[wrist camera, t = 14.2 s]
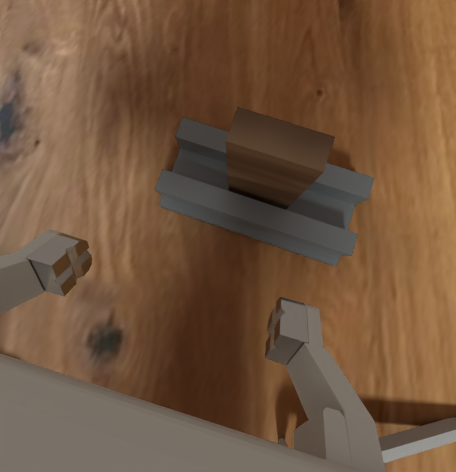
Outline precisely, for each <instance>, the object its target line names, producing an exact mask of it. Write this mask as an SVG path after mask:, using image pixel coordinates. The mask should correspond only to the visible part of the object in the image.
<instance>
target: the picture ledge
mask: <svg viewBox="0 0 456 472" xmlns="http://www.w3.org/2000/svg"><path fill="white" fill-rule="evenodd" d="M228 133H229V132H228V131H225V130H221V129H218V128H215V127H212V126H209V125H206V124H202V123H199V122H196V121H193V120H190V119H187V118H183V117H182V120H181V122H180V125H179V128H178V130H177V133H176V135H175V138H176V140H177V142H178V144H179V146H180V151H179V153H178V156H177V159H176V161H175V164H174V167H173V169H172V172H170V171H167V170H164V169H162V172H161V174H160V177H159V179H158V182H157V184H156V187H155V190H156V191H157V192H158V193H159V194H160V195H161V196H162V198H161V200H160V203H159V205H160V206H161V207H162V208H164V209H167V210H170V211H173V212H176V213H179V214H182V215H185V216H188V217H191V218H194V219H197V220H200V221H203V222H206V223H209V224H211V225H214V226H217V227H220V228H223V229H226V230H229V231H232V232H235V233H238V234H241V235H244V236H247V237H250V238H253V239H256V240H258V241H261V242H264V243H267V244H270V245H273V246H276V247H279V248H282V249H285V250H288V251H291V252H294V253H297V254H300V255H303V256H305V257H308V258H311V259H314V260H317V261H320V262H323V263H326V264H329V265H337V264H338V261H339V257H340V256H352V253H353V249H354V246H355V242H356V239H357V236H358V234H357V233H354V232H351V231H348V227H349V224H350V220H351V217H352V214H353V210H354V207H355V205H356V204H358V203H360V202H362V201H364V200H367V199H368V198H369V194H370V191H371V188H372V184H373V181H374V178H373V177H370V176H367V175H364V174H361V173H358V172H354V171H351V170H348V169H345V168H342V167H339V166H335V165H332V164H329V163H327V164H326V167H325V170H324V173H323V174H321V175H320V176H319V177H318V178H317V179H316V180H315V181H314V182H313V183H312V184H311V185H310V186H309V187H308V188H307V189H306V190H305V191H304V192H303V193H302V194H301V195H300V196H299V197H298V198H297V199H296V200H295V201H294V202H293V203H292V204H291V205H290V206H289V207H288V208H287V209H286V210H285V209H282V208H279V207H276V206H273V205H270V204H267V203H263V202H260V201H257V200H254V199H251V198H248V197H245V196H242V195H239V194H236V193H233V192H230V191H229V188H228V173H227V157H226V138H227V135H228Z"/></svg>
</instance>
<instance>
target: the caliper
mask: <svg viewBox="0 0 456 472" xmlns="http://www.w3.org/2000/svg"><path fill="white" fill-rule="evenodd" d="M378 439H379V443H380V448H381V452H382V457H383V461H384V463H386V462H390V461H393V460H396V459H399V458H403V457H406V456H409V455H413V454H416V453H419V452H423V451H426V450H429V449H433V448H436V447H439V446H442V445H446V444H449V443H452V442H455V441H456V417H455V418H447V419H443V420H440V421H437V422H433V423H430V424H426V425H423V426H419V427H416V428H412V429H409V430H405V431H402V432H398V433H395V434H391V435H388V436H384V437H380V438H378ZM278 441H279V444H280V445H283V446H286V447H288V445H287V444H286V442H285V441H284V439H283V438H280V439H279V440H278Z"/></svg>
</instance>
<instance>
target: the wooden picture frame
mask: <svg viewBox="0 0 456 472" xmlns="http://www.w3.org/2000/svg"><path fill="white" fill-rule="evenodd" d="M334 138H335V137H334V136H330V135H327V134H324V133H321V132H317V131H314V130H311V129H308V128H304V127H301V126H298V125H295V124H291V123H288V122H285V121H282V120H278V119H275V118H272V117H269V116H265V115H262V114H259V113H256V112H252V111H249V110H246V109H243V108H239V107H238V108H237V111H236V113H235V116H234V119H233V122H232V124H231V127H230V130H229V133H228V135H227V138H226V157H227V173H228V188H229V191H230V192H233V193H236V194H239V195H242V196H245V197H248V198H251V199H254V200H257V201H260V202H263V203H267V204H270V205H273V206H276V207H279V208H282V209H285V210H286V209H287V208H288V207H289V206H290V205H291V204H292V203H293V202H294V201H295V200H296V199H297V198H298V197H299V196H300V195H301V194H302V193H303V192H304V191H305V190H306V189H307V188H308V187H309V186H310V185H311V184H312V183H313V182H314V181H315V180H316V179H317V178H318V177H319V176H320V175H321V174H323V173H324V170H325V167H326V164H327V161H328V157H329V154H330V151H331V148H332V145H333V142H334Z"/></svg>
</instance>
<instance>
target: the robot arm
mask: <svg viewBox="0 0 456 472" xmlns="http://www.w3.org/2000/svg"><path fill="white" fill-rule="evenodd" d="M88 248H89V245H88V242H87V241H85V240H82V239H79V238H76V237H73V236H70V235H67V234H64V233H60V232H57V231H54V230H47V231H45V232H43V233H42V234H40V235H39V236H38V237H36V238H35V239H33V240H32V241H31V242H29V243H28V244H26V245H25V246H24V247H22V248H21V249H19V250H18V251H16V252H15V253H14V254H5V255H2V256H0V314H2V313H4V312H6V311H8V310H10V309H12V308H14V307H16V306H18V305H20V304H22V303H24V302H26V301H28V300H30V299H32V298H34V297H36V296H38V295H40V294H42V293H44V291H47V292H50V293H54V294H57V295H61V296H65V295H66V294H67V293H68V292H69V291H70V290H71V289H72V288H73V287H74V286H75V285H76V281H77V278H80V277H82V276H84V275H85V274H86V273H87V272H88V271H89V269H90V267H91V264H92V257H91V254H90V253H89V252H88V251H87V249H88ZM267 332H268V333H269V335H270V336H269V338H268V339H267V341H266V351H265V358H266V359H269V360H272V361H275V362H278V363H281V364H284V365H286V368H287V370H288V373H289V375H290V378H291V380H292V382H293V385H294V387H295V390H296V392H297V394H298V397H299V399H300V402H301V404H302V406H303V409H304V411H305V414H306V416H307V418H308V421H306V422H305V423H303V424H302V425H301V426H299V427H298V428H296V429H295V430H294V449H292V448H289V447H286V446H283V445H280V444H277V443H274V442H271V441H268V440H265V439H262V438H259V437H255V436H252V435H249V434H246V433H243V432H240V431H237V430H234V429H231V428H228V427H225V426H222V425H219V424H216V423H212V422H209V421H206V420H203V419H200V418H197V417H194V416H191V415H188V414H185V413H182V412H179V411H176V410H172V409H169V408H166V407H163V406H160V405H157V404H154V403H151V402H148V401H145V400H142V399H139V398H136V397H133V396H129V395H126V394H123V393H120V392H117V391H114V390H111V389H108V388H105V387H102V386H99V385H96V384H93V383H90V382H86V381H83V380H80V379H77V378H74V377H71V376H68V375H65V374H62V373H59V372H56V371H53V370H50V369H47V368H43V367H40V366H37V365H34V364H31V363H28V362H25V361H22V360H19V359H16V358H13V357H10V356H7V355H4V354H0V472H386V470H385V465H384V461H383V457H382V452H381V448H380V443H379V439H378V434H377V430H376V425H375V421H374V420H373V418H372V416H371V415H370V413H369V412H368V410H367V409H366V407H365V406H364V404H363V403H362V401H361V400H360V398H359V397H358V395H357V394H356V392H355V391H354V389H353V388H352V386H351V384H350V383H349V381H348V380H347V378H346V377H345V375H344V374H343V372H342V371H341V369H340V368H339V366H338V365H337V363H336V362H335V360H334V359H333V357H332V356H331V354H330V352H329V351H328V350H327V349H324V347H323V338H322V329H321V320H320V311H319V309H318V308H317V307H313V306H310V305H306V304H304V303H300V302H296V301H293V300H289V299H286V298H282V297H280V298H278V300H277V302H276V308H273V310H272V312H271V314H270V317H269V321H268V328H267Z"/></svg>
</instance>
